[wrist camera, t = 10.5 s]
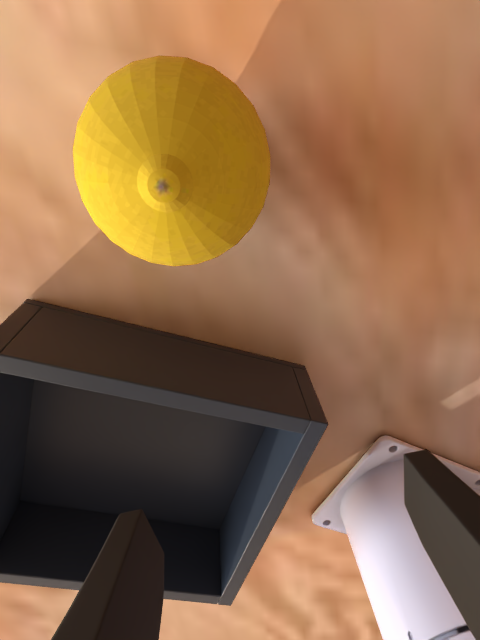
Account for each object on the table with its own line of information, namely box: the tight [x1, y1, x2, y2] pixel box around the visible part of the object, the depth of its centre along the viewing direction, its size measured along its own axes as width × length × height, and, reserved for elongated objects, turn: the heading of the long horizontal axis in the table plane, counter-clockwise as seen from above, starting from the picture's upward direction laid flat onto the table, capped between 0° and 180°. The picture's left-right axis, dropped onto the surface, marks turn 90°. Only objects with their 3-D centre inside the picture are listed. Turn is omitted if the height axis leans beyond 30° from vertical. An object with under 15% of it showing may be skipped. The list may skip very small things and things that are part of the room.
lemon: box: [73, 56, 270, 266], centre depth 11 cm, size 6×6×8 cm
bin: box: [0, 299, 328, 606], centre depth 19 cm, size 14×14×4 cm
